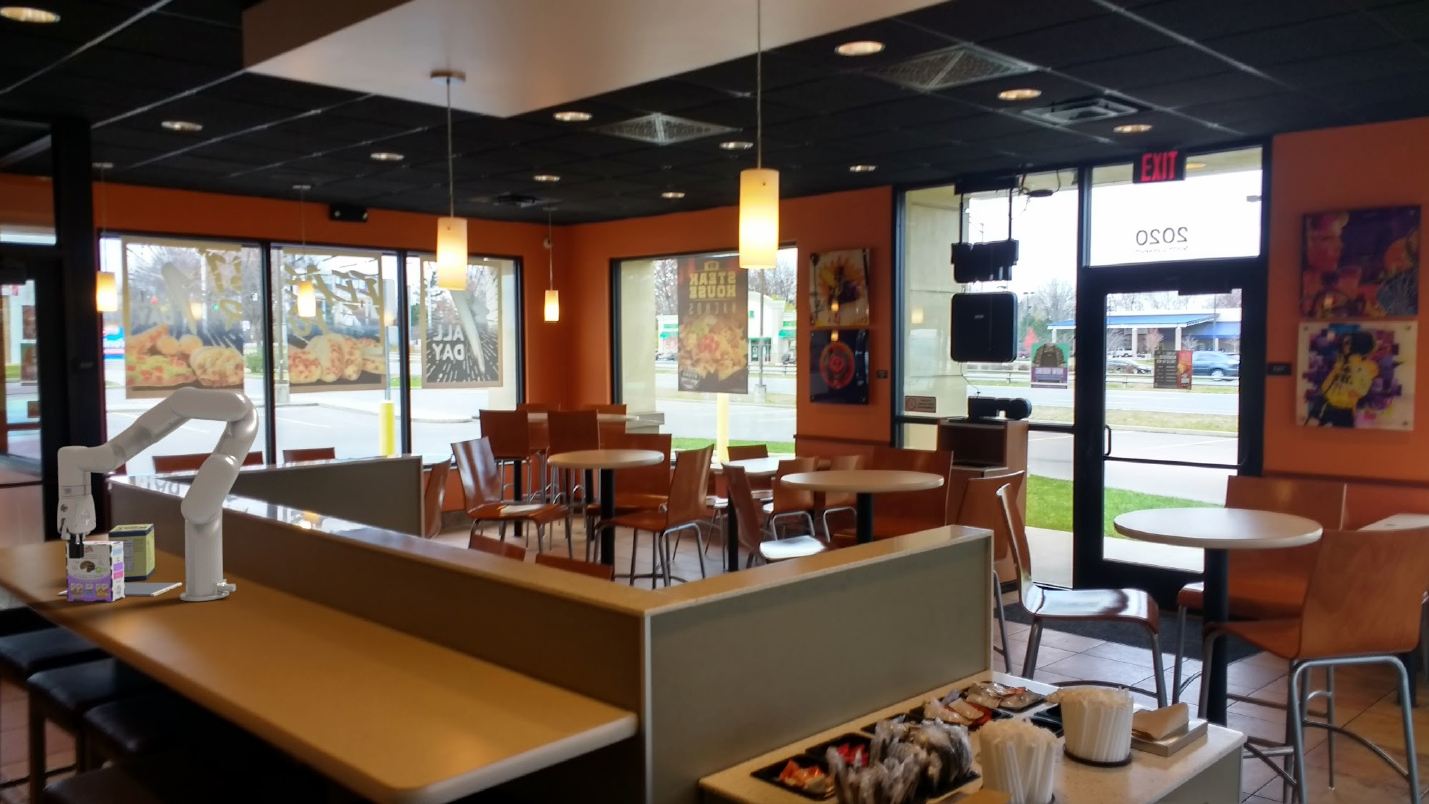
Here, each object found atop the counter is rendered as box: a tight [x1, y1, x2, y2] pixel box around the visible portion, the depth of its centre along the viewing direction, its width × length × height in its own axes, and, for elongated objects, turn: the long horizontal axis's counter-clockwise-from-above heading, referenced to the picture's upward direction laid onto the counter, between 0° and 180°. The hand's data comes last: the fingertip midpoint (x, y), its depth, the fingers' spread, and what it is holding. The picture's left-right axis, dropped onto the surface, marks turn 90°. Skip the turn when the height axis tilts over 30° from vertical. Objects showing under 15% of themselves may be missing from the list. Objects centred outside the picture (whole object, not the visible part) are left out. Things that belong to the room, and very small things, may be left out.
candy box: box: [64, 540, 126, 603], centre depth 293 cm, size 14×6×16 cm, turn 84°
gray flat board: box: [57, 582, 183, 597], centre depth 305 cm, size 28×15×1 cm, turn 89°
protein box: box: [107, 523, 156, 582], centre depth 324 cm, size 10×16×16 cm
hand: (76, 557), depth 284 cm, fingers closed
